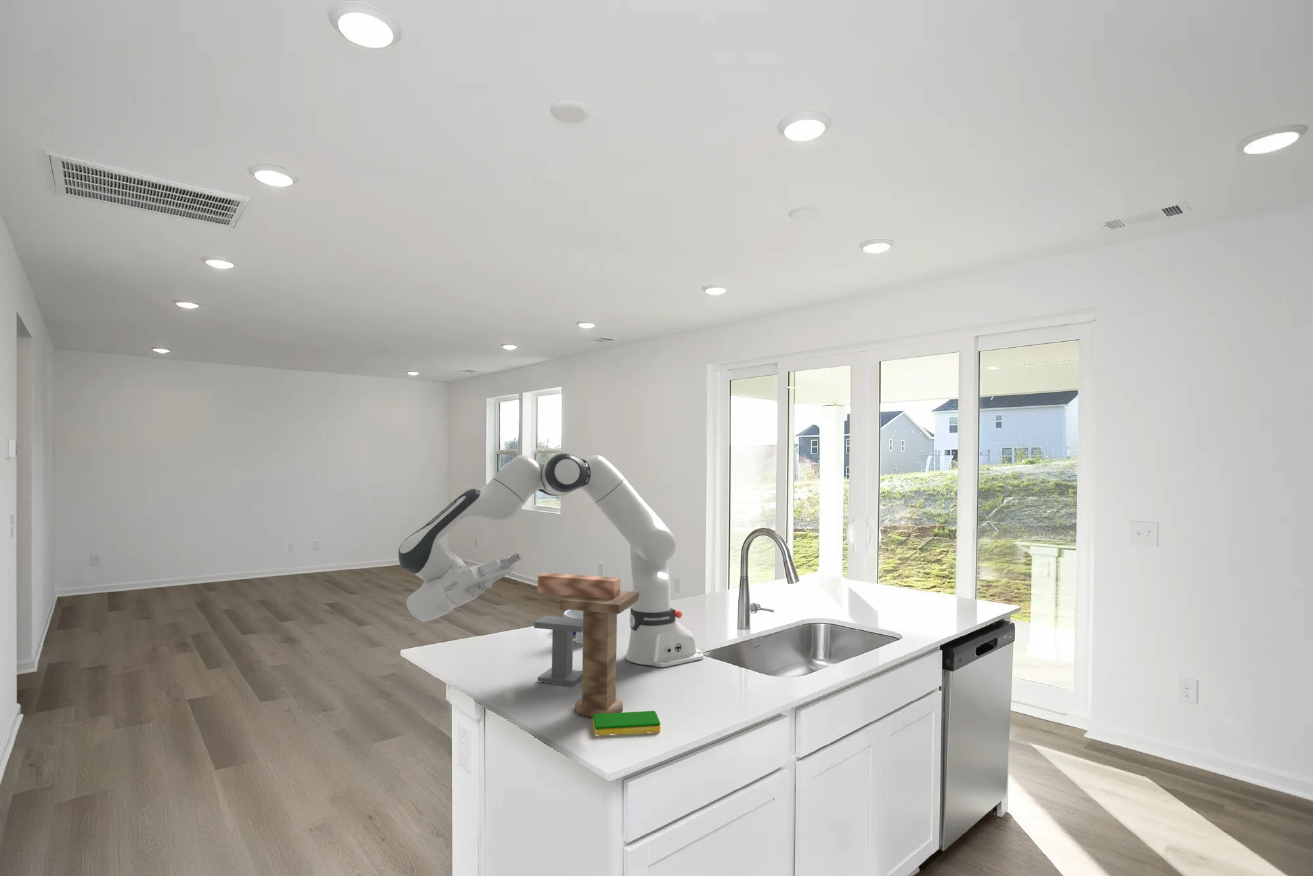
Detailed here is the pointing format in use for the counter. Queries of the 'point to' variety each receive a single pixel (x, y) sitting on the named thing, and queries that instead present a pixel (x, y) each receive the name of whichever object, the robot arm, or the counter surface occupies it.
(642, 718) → the dish sponge
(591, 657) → the walnut pedestal
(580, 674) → the low stand
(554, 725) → the counter surface
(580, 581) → the block
